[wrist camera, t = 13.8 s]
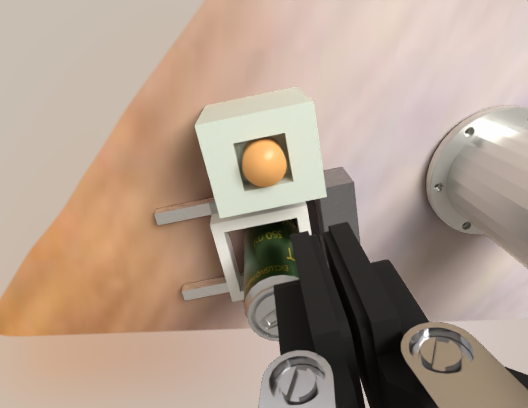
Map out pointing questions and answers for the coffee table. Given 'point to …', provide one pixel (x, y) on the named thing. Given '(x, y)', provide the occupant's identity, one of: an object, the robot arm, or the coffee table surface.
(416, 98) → the coffee table surface
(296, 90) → the pale green hollow cube
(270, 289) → the beer can
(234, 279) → the frame
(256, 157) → the button
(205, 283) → the rail track
